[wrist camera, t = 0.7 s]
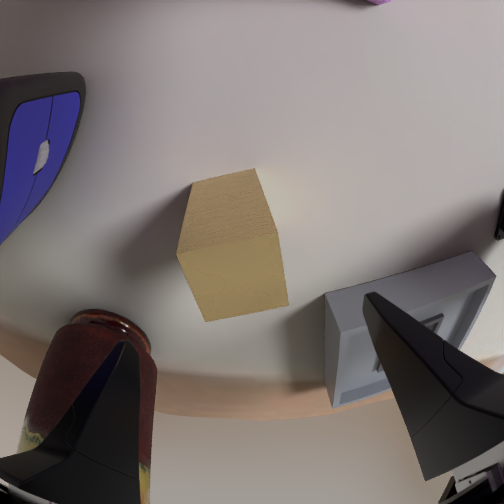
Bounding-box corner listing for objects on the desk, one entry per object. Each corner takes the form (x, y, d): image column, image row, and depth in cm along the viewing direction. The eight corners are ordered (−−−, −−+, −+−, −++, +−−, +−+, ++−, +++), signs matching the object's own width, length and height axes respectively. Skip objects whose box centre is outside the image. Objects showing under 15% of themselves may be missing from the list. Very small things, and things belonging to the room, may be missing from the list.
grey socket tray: (472, 250, 23) (496, 275, 20) (438, 339, 33) (451, 363, 29) (324, 293, 24) (340, 332, 20) (323, 379, 33) (332, 408, 29)
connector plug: (254, 168, 17) (277, 232, 11) (265, 222, 19) (288, 305, 13) (193, 182, 17) (176, 254, 11) (209, 235, 20) (205, 321, 13)
